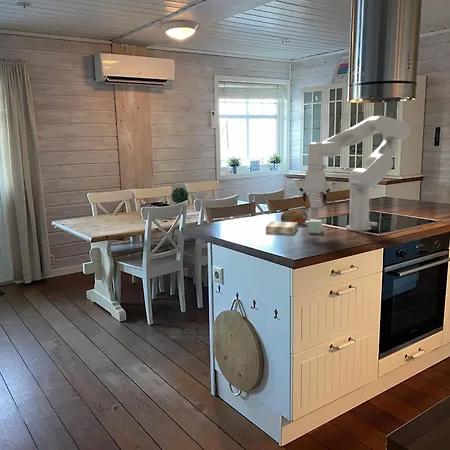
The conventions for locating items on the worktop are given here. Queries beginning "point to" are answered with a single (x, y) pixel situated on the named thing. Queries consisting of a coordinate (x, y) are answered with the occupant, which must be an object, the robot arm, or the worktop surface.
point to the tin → (294, 216)
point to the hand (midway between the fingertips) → (314, 201)
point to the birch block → (282, 227)
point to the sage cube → (314, 226)
